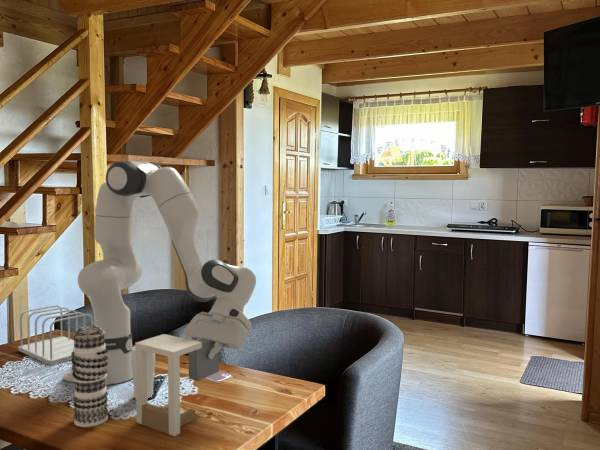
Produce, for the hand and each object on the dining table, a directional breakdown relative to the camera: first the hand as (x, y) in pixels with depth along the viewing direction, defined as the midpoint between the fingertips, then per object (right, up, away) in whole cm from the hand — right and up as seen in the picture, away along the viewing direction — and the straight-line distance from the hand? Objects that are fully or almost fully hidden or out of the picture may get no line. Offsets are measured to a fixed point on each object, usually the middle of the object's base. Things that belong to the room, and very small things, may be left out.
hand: (202, 356), depth 150 cm
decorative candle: (-28, -15, -8) cm, 33 cm away
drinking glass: (-19, -14, +7) cm, 24 cm away
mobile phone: (-2, -13, +27) cm, 30 cm away
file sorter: (-63, -11, +48) cm, 81 cm away
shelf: (-7, -15, -9) cm, 19 cm away
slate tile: (0, -6, +1) cm, 6 cm away
